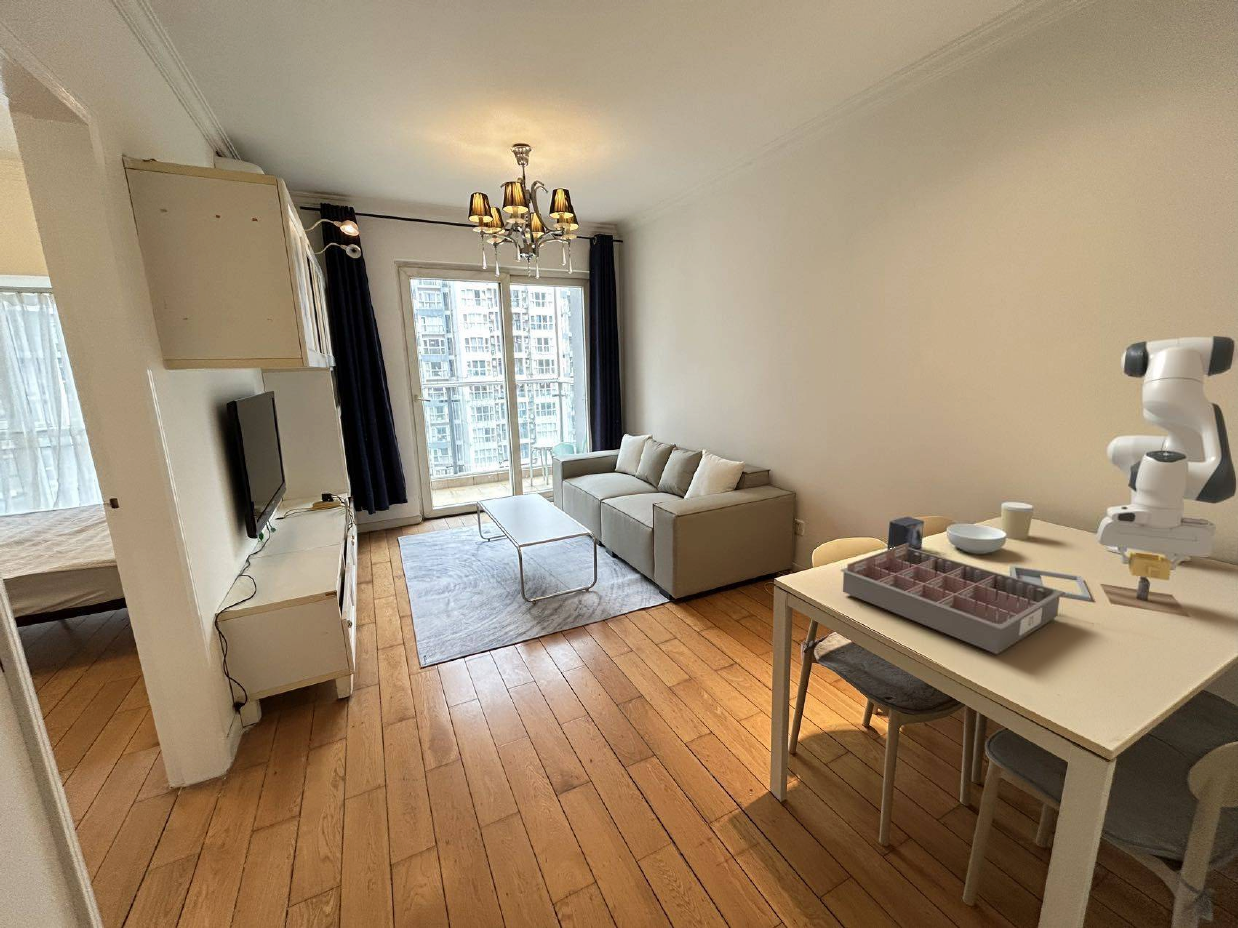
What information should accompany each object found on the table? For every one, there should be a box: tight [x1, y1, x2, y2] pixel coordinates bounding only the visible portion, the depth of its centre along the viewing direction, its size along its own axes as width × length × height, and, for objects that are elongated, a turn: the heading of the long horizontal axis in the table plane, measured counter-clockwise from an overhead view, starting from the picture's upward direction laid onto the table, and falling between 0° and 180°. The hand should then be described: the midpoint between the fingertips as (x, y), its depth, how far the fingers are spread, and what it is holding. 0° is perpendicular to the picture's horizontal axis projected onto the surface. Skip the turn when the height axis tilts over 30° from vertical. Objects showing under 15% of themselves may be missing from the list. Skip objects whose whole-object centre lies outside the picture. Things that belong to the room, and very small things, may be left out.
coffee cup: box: [1000, 501, 1035, 541], centre depth 183 cm, size 9×9×12 cm
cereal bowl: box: [946, 523, 1007, 555], centre depth 172 cm, size 17×17×7 cm
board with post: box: [1099, 576, 1191, 618], centre depth 130 cm, size 14×14×7 cm
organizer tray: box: [839, 543, 1066, 655], centre depth 133 cm, size 32×40×10 cm
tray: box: [1009, 565, 1092, 602], centre depth 142 cm, size 16×16×2 cm
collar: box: [1125, 551, 1172, 581], centre depth 128 cm, size 10×7×4 cm
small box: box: [886, 516, 925, 551], centre depth 175 cm, size 11×6×10 cm, turn 117°
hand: (1147, 566), depth 129 cm, fingers closed on collar, 7 cm apart
